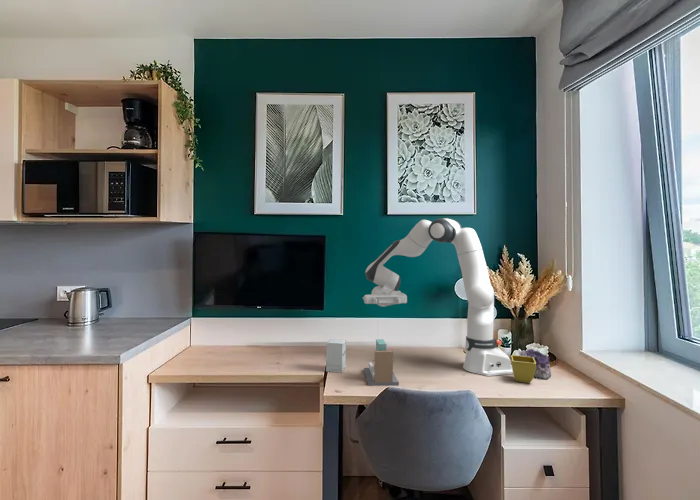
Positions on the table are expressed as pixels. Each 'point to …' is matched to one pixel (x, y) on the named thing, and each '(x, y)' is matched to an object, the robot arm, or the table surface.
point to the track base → (381, 370)
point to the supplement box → (335, 355)
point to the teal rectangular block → (380, 345)
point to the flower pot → (523, 368)
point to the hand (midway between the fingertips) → (387, 301)
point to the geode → (539, 364)
